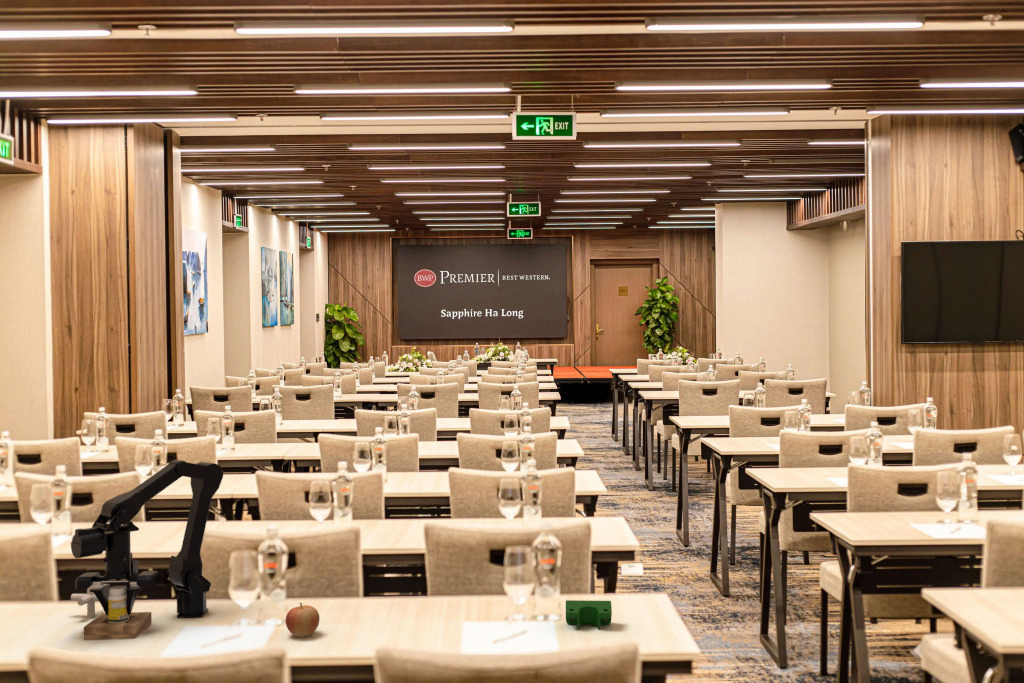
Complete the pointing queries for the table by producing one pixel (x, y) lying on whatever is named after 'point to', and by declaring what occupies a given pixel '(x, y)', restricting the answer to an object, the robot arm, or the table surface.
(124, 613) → the supplement bottle
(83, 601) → the pipe connector
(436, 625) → the table surface
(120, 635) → the holder
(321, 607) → the table surface
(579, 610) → the clamp
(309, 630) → the apple
